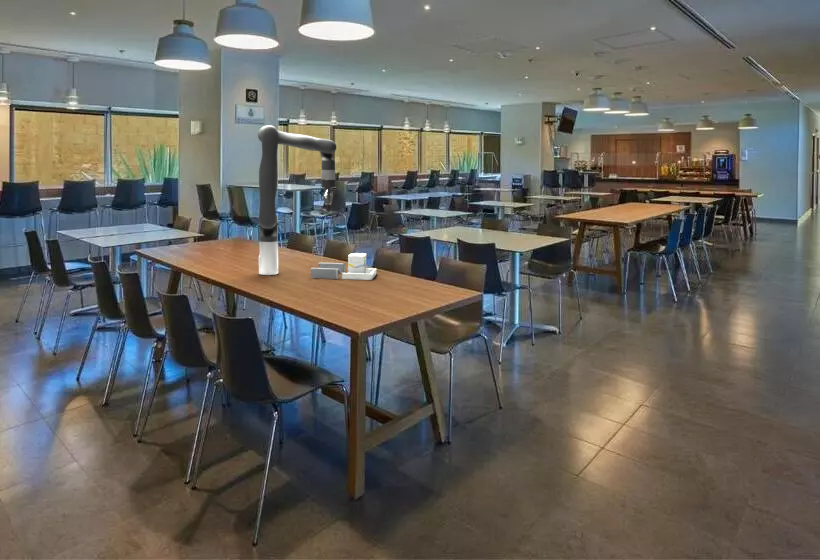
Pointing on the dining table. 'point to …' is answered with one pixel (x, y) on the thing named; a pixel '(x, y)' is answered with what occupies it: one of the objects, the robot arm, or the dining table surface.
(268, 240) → the robot arm
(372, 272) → the tray frame
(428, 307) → the dining table surface
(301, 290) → the dining table surface
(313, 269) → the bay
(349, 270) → the ink box
